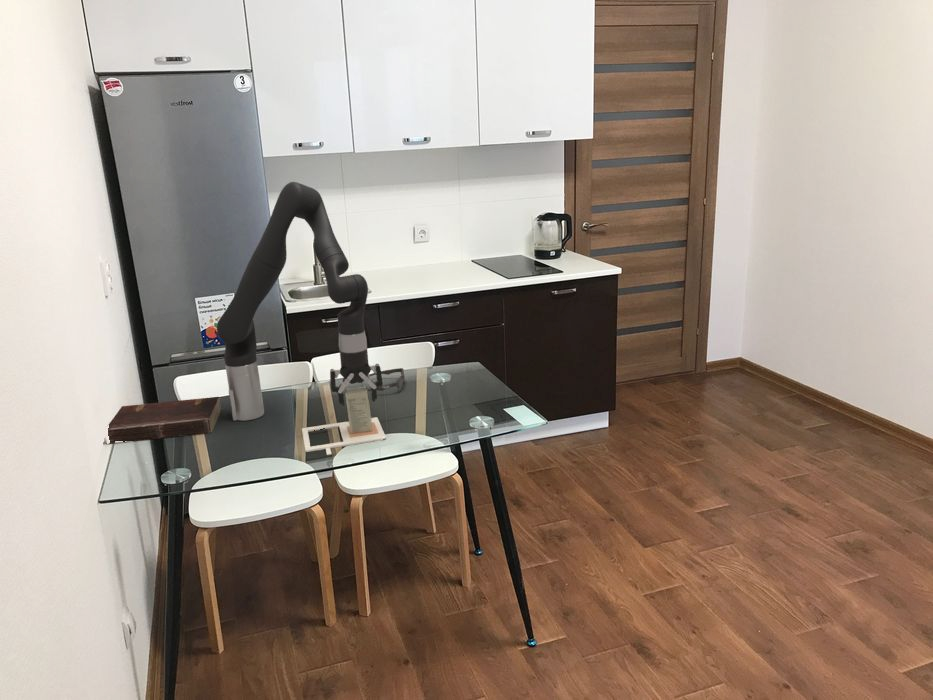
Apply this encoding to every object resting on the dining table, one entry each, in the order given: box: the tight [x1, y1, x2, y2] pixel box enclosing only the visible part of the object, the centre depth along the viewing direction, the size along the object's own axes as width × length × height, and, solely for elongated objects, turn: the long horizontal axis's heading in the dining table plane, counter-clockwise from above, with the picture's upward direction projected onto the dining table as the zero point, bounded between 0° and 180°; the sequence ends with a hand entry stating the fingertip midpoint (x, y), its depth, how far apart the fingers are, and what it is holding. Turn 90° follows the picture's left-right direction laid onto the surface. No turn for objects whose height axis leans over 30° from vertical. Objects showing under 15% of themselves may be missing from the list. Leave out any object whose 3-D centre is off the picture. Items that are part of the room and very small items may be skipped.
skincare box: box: [344, 386, 372, 433], centre depth 210 cm, size 6×4×12 cm
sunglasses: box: [367, 367, 405, 392], centre depth 246 cm, size 16×17×5 cm
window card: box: [301, 416, 386, 456], centre depth 209 cm, size 22×20×1 cm
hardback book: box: [108, 396, 222, 445], centre depth 223 cm, size 29×19×5 cm, turn 99°
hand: (358, 402), depth 209 cm, fingers open, 8 cm apart
